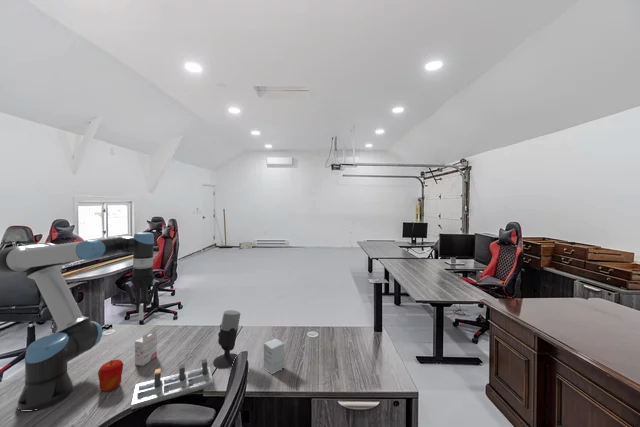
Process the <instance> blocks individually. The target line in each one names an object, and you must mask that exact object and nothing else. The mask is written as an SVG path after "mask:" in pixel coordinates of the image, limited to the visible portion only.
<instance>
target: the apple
mask: <svg viewBox="0 0 640 427" xmlns="http://www.w3.org/2000/svg"><path fill="white" fill-rule="evenodd" d="M123 369H124V362H123V361H122V360H121V359H113V360H112V359H111V360H109V361H107V362H105V363H103V364H102V365H101V366H100V368H99V370H98V372H97V377H98V380H99V389H100V391H101V390H102V391H105V392H109V391H110V392H111V391H112V390H115V389H117V388H118V387H119V385H120V384H121V382H122V374H123Z"/></svg>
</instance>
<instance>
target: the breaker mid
mask: <svg viewBox="0 0 640 427" xmlns="http://www.w3.org/2000/svg"><path fill="white" fill-rule="evenodd" d="M178 368H179V369H178V374H179V377H178V381H180V380H184V379H186V375H185V372H186V371H185V370H186V369H185V368H186V367H185V363H184V364H179V367H178Z"/></svg>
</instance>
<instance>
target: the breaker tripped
mask: <svg viewBox="0 0 640 427" xmlns="http://www.w3.org/2000/svg"><path fill="white" fill-rule="evenodd" d="M161 371H162V368H156V369H155V370H154V380H155V383H154V384H153V387H157V386H161V385H162V381H161V378H162V376H161V375H162V372H161Z"/></svg>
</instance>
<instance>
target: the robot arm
mask: <svg viewBox="0 0 640 427" xmlns="http://www.w3.org/2000/svg"><path fill="white" fill-rule="evenodd" d="M154 244H155V235H154V234H153V233H152V232H143V231H142V232H135V233H134V235H133V236H121V235H111V236H108V237H105V238H95V239H93V238H91V239H87V240H81V241H73V242H68V243H67V242H66V243H59V244H57V243H51V242H40V243H32V244H24V245H14V246H13V245H12V246H9V247H5V248H2V249H0V273H1V274H5V275H17V274H22V273H25V276H26V277H27V278H28V279H31V280H33V281H34V282H35V284H36V285H37V288H38V290H39V292H40V294H41V296H42V298H43V300H44V302H45V304H46V306H47V308H48V310H49V312H50V314H51V317H52V318H53V320H54V322H55V324H56V327H57V329H56V331H55V333H52V334H49V335H45V336H42V337H39V338H38V339H36V340H34V341H33V342H31V343H30V344H29V345H28V346H27V348H26V350H25V356H24V362H25V363H24V364H25V367H24V368H25V369H24V370H25V371H24V373H25V375H24V376H25V377H24V387H23V389H22V391H21V394H20V395H19V398H18V400H17V409H18V408H19V409H20V410H35V409H40V410H42V408H43V409H46V408H48V406H49V407H51V406H53V405H56V404H58V403H59V402H61V401H62V400H64V399H66V398H67V397H68V396H70V394H71V393H72V391H73V388H74V387H73V384H74V383H73V380H72V379H71V377H70V375H69V373H68V364H69V362H70V361H72V360H74V359H75V358H77V357H79V356H81V355H83V354H84V353H86V352H88V351H89V350H92V349H93V348H94V347H95V346H97V344H99V343H100V341H101V339H102V337H103V328H102V326H101V324H100V323H99V322H97V321H94V320H90V318H89V316H84V315H83V313H82V311H81V309H80V307H79V306H78V303H77V301H76V299H75V298H74V296H73V293H72V292H71V289H70V288H69V285H68V284H67V282H66V280H65V277H64V275H63V273H62V272H61V269H62V268H63V267H64V265H63V264H64V263H70V262H77V261H86V260H96V259H98V258H103V257H110V256H113V255H119V254H132V255H133V257H132V258H133V259H132V267H133V268H132V278H131V279H130V281H128V282H125V284H124V287H125V288H126V289H127V294H128V296H129V300H130V304H131V305H134V306H135V312H136V313H137V314H138V321H143V320H144V318H145V315H144V314H145V312H147V309H148V304H151V303H152V301H153V297H154V295H155V291H156V289H157V286H158V285H159V283H160V281H159V280H157V279H155V278H154V274H153V273H154V248H155V247H154V246H155V245H154ZM151 284H152V288H151V292H150V295H149V298H148V294H149V293H148V288H149V286H150V285H151ZM132 286H134V287H135V288H136V296H135V293H134V291H133V287H132ZM142 288H143V300H142V303H141V298H142V295H141V294H142ZM45 407H46V408H45Z"/></svg>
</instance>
